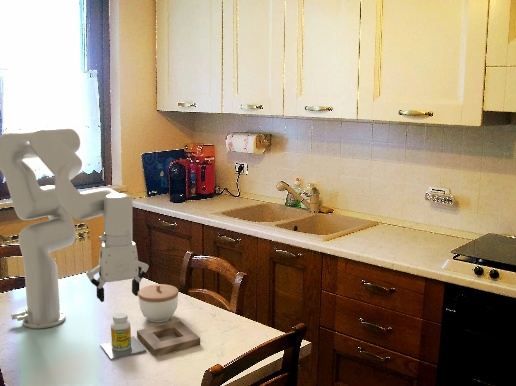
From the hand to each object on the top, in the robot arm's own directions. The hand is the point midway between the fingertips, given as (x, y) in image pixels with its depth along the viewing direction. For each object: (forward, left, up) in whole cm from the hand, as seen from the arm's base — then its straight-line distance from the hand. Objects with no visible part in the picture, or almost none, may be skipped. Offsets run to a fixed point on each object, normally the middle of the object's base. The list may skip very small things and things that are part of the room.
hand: (118, 297), depth 158 cm
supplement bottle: (0, -1, -15) cm, 15 cm away
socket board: (+13, -3, -15) cm, 21 cm away
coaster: (0, -1, -15) cm, 15 cm away
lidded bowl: (+17, +14, -16) cm, 27 cm away
